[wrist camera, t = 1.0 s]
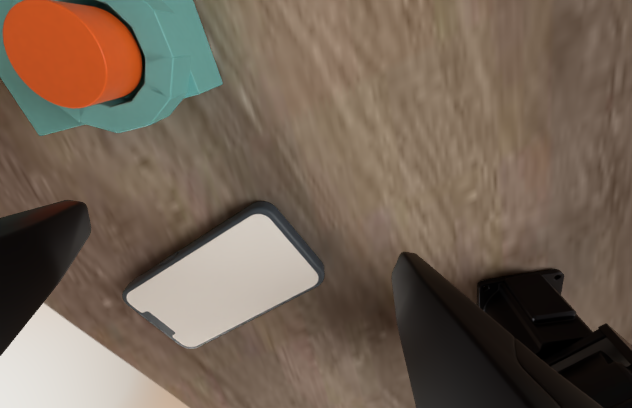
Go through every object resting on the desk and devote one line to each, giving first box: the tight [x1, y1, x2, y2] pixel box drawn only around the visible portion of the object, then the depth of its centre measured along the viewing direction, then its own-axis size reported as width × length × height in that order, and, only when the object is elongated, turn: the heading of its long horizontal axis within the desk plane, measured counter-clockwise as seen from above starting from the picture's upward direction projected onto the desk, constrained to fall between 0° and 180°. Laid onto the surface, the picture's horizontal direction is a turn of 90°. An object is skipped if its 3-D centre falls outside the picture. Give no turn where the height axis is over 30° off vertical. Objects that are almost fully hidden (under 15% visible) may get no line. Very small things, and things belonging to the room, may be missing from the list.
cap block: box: [0, 0, 223, 136], centre depth 15 cm, size 11×10×6 cm
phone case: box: [122, 201, 324, 349], centre depth 26 cm, size 9×2×16 cm
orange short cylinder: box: [3, 0, 143, 108], centre depth 12 cm, size 4×4×3 cm
